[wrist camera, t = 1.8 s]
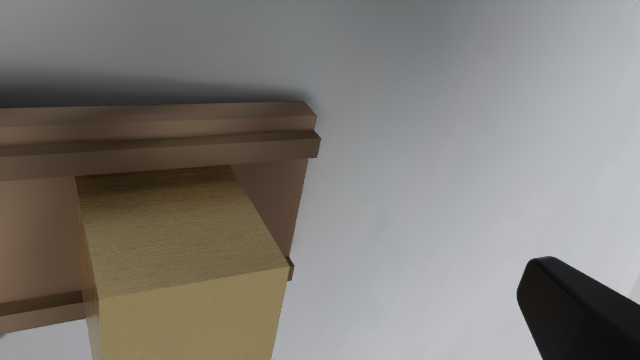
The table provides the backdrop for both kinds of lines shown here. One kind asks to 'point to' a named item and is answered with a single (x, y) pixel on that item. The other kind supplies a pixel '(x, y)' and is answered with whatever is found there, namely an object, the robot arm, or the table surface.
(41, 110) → the balance beam
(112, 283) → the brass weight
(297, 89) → the table surface
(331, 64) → the table surface
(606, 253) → the table surface
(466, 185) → the table surface
